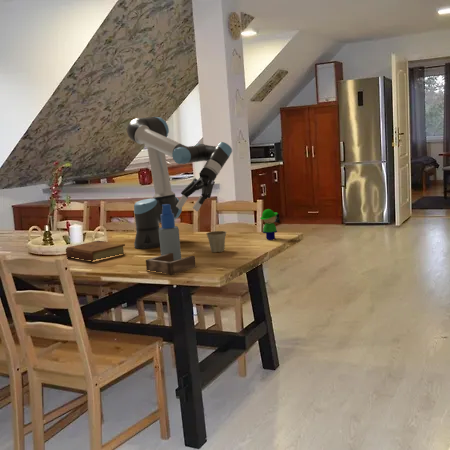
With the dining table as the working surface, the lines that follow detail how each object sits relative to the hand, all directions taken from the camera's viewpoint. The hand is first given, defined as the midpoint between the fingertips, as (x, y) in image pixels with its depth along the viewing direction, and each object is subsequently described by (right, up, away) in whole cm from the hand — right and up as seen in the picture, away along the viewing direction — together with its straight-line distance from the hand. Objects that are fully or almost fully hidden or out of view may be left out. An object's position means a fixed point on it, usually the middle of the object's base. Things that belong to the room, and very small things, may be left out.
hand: (186, 208), depth 271 cm
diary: (-45, -23, +20) cm, 54 cm away
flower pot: (+14, -20, +8) cm, 26 cm away
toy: (+40, -14, +27) cm, 51 cm away
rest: (-5, -26, -21) cm, 34 cm away
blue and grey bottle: (-7, -23, -2) cm, 24 cm away
